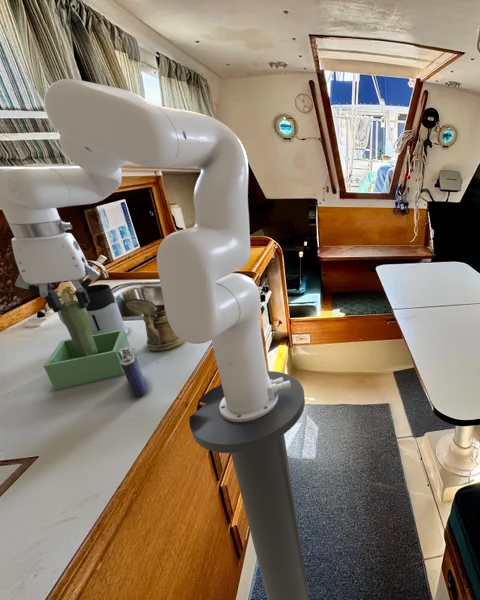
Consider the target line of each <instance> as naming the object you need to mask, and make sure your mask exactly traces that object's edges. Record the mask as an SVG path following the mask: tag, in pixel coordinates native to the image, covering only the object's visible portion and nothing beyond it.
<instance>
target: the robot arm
mask: <svg viewBox="0 0 480 600" xmlns="http://www.w3.org/2000/svg"><path fill="white" fill-rule="evenodd" d="M43 107H44V112H45V114H46V117H47V119H48V121H49V122H50V124H51V125H52V126H53V127H54V129H55V130H56V131H57V132H58V133H59V136H58V142H59V146H60V148H61V150H62V151H63V153H64V154H65V156H66V157H67V158H68V159H69V160H70V161H71V162H72V163H74V164H75V165H76V166H40V167H39V166H29V167H27V166H0V208H1V211H2V213H3V214H4V217H5V219H6V221H7V223H8V226H9V228H10V230H11V232H12V234H13V236H14V237H13V238H11V239H10V240H11V246H12V251H13V257H14V260H15V263H16V266H17V269H18V271H19V274H18V275H17V278H16V280H15V283H14V286H15V287H17V288H21V289H25V290H29V291H31V292H33V293H36V294H38V295H39V296H40V297H43V298H44V299H45V301H46V304H47V306H48V308H49V309H52V311H53V313H58V311H60V309H61V306H62V304H63V303H62V302H61V299H60V298H59V295H58V293H57V292H56V291H54V290H53V289H52V283H60V282H61V283H62V282H68V281H70V283H71V284H72V285H73V287H74V288H75V291H77V292H76V293H74V295H75V297H76V299H78V300H77V301H78V302H79V304H80V307H81V308H86V307H87V305H88V303H90V299H89V296H88V294H87V291H86V288H87V287H88V286H90V285H91V284H92V283H93V282H94V281H96V280H97V279H99V278H100V277H101V272H99V271H97V269H95V268H93V267H92V266H91V265H89V263H88V261H87V259H86V257H85V254H84V252H83V251H82V248H81V247H80V245H79V243H78V242H77V240H76V239H75V237H74V235H73V234H72V233H71V232H67V231H68V230H73V225H72V223H71V222H65V221H63V219H61V216H60V215H59V212H58V209H59V208H65V207H74V206H82V205H83V206H84V205H92V204H96V203H99V202H101V201H104V200H105V199H106V198H109V196H111V195H112V194H114V193H115V192H116V191H117V190H118V189H119V188H120V187H121V184H122V181H123V179H122V178H123V172H122V167H123V166H124V165H126V164H127V163H131V164H134V165H138V166H142V167H146V168H147V167H148V168H191V167H196V168H198V169H200V174H199V176H198V177H197V180H196V183H195V185H194V191H193V199H192V200H193V206H194V207H193V208H194V225H193V226H191V227H188V228H184V229H180V230H176V231H173V232H171V233H170V234H168V235H166V236H165V237H164V238H163V239H162V241H161V242H160V244H159V245H158V249H157V253H156V267H157V274H158V279H159V283H160V290H161V296H162V300H163V304H164V307H165V312H166V316H167V319H168V322H169V325H170V327H171V328H172V330H173V331H174V333H175V334H176V335H177V336H178V337H179V338H180V339H182V340H183V341H184V342H186V343H189V344H193V345H200V344H204V343H208V342H210V341H211V343H212V349H213V353H214V358H215V362H216V366H217V371H218V375H219V379H220V383H221V384H220V385H222V388H223V392H224V396H225V397H224V398H223V399H222V400H221V402H220V406H219V409H220V413H221V416H222V417H223V418H225V419H226V420H229V421H232V422H246V421H251V420H254V419H257V418H259V417H261V416H263V415H265V414H266V413H268V412H269V411H270V410H271V409H273V408H274V406H275V405H276V403H277V401H278V391H282V390H286V389H289V388H291V383H290V381H285V382H283V378H282V377H281V378H278V379H275V380H270V379H269V376H268V373H267V371H268V367H267V363H266V356H265V350H264V349H265V348H264V343H263V341H264V340H263V335H262V329H261V327H262V326H261V303H262V302H261V301H262V300H261V294H260V290H259V288H258V285H257V284H256V283H255V281H254V280H253V279H252V278H251V277H249V276H247V275H245V274H242V273H237V271H239V270H240V269H242V268H243V267H245V266H246V265H247V264H248V263H249V261H250V258H251V234H250V212H249V197H248V195H249V163H248V162H249V161H248V157H247V155H246V154H247V153H246V150H245V148H244V146H243V144H242V142H241V140H240V138H239V137H238V136H237V135H236V134H235V132H234V131H233V130H232V129H231V128H230V127H228V126H227V125H226V124H224V123H223V122H222V121H220V120H218V119H216V118H214V117H212V116H209V115H206V114H203V113H200V112H196V111H191V110H185V109H179V108H172V107H166V106H161V105H155V104H151V103H150V102H149V101H148V100H147V99H145V98H144V97H142V96H141V95H139V94H137V93H135V92H132V91H130V90H127V89H123V88H119V87H115V86H109V85H105V84H100V83H96V82H92V81H91V82H90V81H86V80H80V79H75V78H64V79H59V80H56V81H55V82H53V83H52V84H51V85H49V86H48V87H47V89H46V90H45V93H44V97H43ZM87 274H88V275H89V276H87V277H86V275H87ZM85 277H86V278H85ZM84 278H85V279H84Z"/></svg>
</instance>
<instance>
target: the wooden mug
mask: <svg viewBox="0 0 480 600" xmlns="http://www.w3.org/2000/svg"><path fill="white" fill-rule="evenodd" d="M125 305H126V307H127V308H128V309H129V310H130V311H132V312H134V313H137V314H141V315H143V317H142V318H143V322H144V324H145V331H146V337H147V340H146V345H147V350H149V351H153V352H163V351H169V350H172V349H176V348H177V347H179V346H181V345H182V344H183V343H184V342H185V341H183V340H182V339H180V338H179V337H178V336H177V335H176V334H175V333H174V331H173V330H172V328H171V327H170V325H169V322H168V319H167V316H166V312H165V307H164V303H163V304H155V303H154V302H152V301H151V300H150V301H149V300H145V299H140V298H131V299H129V300H128V301H126V303H125Z"/></svg>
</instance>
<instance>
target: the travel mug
mask: <svg viewBox="0 0 480 600" xmlns="http://www.w3.org/2000/svg"><path fill="white" fill-rule="evenodd" d="M86 291H87V294H88V296H89V299H90V303H88V305H87V307H86V310H87V313H88V318H89V328H90V332H91V335H96V334H101V333H107V332H113V331H118V330H124V331H125V334H126V335H127V334H128V333H129V329H128V328H127V327H126V325H125V323H124V320H123V317H122V314H121V312H120V309H119V306H118V303H117V300H116V298H115V295H114V294H113V292H112V289H111V286H110V285H109V284H105V283H103V284H92V285H91V284H90V285H88V287H87V288H86ZM76 292H77V291H76V290H74V291H73V293H74V294H75V293H76ZM76 299H77V298H76ZM76 301H78V299H77V300H76ZM57 315H58V318H59V320H60V321H61V323H62V324H63V325H64V326H66V325H65V323H64V321H63V319H62V317H61V314H60V311H58V312H57Z"/></svg>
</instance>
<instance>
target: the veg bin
mask: <svg viewBox="0 0 480 600" xmlns="http://www.w3.org/2000/svg"><path fill="white" fill-rule="evenodd" d="M92 337H93V339H94V342H95V345H96V348H97V350H98V353H97V354H95V355H90V356H85V357H80V356H79V354H78V352H77V351H76V349H75V346H74V344H73V341H72V338H67V339H62V340H60V342H59V343H58V344H57V346H56V348H55V349H54V350H53V352H52V353H51V355H50V356H49V357H48V359H47V360H46V362H45V363H44V365H43V368H44V370H45V373H46V375H47V377H48V379H49V380H50V382H51V385H52V386H53V388H54V390H55V391H57V390H61V389H65V388H69V387H73V386H78V385H82V384H87V383H91V382H96V381H100V380H105V379H109V378H114V377H117V376H121V375H125V373H124V370H123V368H122V366H121V362H122V361H121V358H120V356H119V354H118V351H119V350H120V349H122V348H125V347H131V345H130V342H129V338H128V336H127V334H125V331H124V330H118V331H113V332H107V333H101V334H96V335H92Z"/></svg>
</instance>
